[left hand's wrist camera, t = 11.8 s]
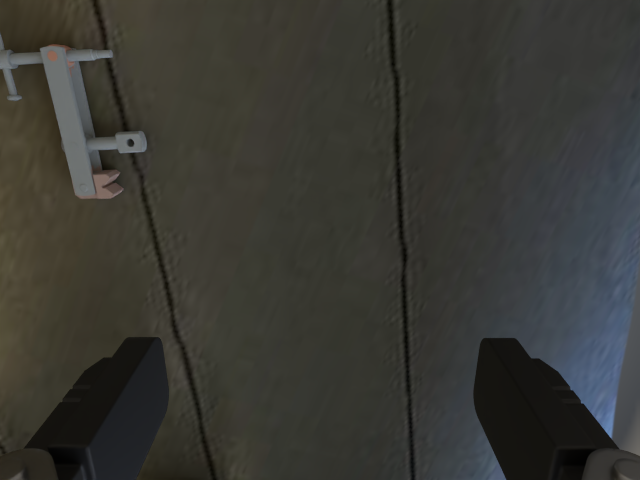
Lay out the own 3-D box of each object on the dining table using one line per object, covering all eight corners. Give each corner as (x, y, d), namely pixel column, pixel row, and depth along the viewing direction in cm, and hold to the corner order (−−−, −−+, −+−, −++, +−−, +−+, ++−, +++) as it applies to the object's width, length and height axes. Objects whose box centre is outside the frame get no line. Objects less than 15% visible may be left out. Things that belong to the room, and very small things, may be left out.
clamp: (148, 196, 36) (25, 203, 36) (158, 190, 38) (41, 196, 39) (108, -17, 31) (-36, -9, 31) (121, -12, 33) (-13, -4, 33)
